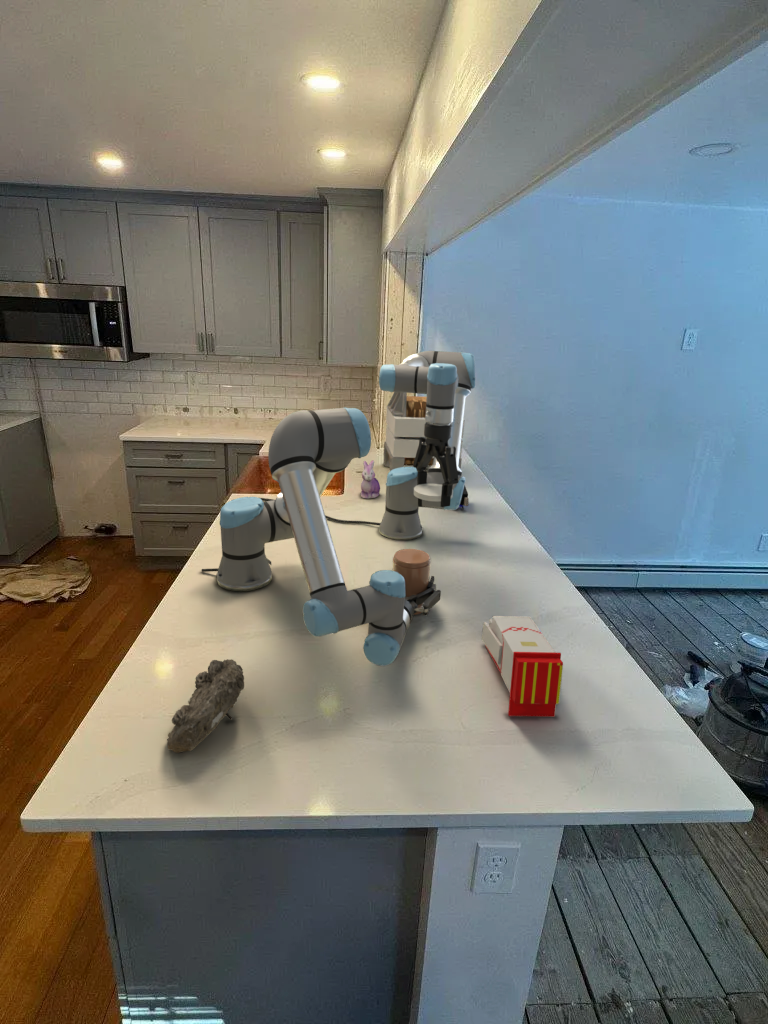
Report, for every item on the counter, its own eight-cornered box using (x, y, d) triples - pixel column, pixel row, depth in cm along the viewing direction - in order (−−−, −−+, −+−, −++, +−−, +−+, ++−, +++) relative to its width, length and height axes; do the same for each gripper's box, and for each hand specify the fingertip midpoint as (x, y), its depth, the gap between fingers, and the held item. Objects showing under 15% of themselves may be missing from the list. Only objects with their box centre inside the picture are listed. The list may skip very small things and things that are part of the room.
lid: (405, 494, 160) (405, 488, 159) (430, 486, 167) (430, 481, 167) (436, 504, 153) (436, 498, 152) (460, 495, 160) (461, 490, 160)
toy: (528, 601, 136) (572, 659, 107) (523, 653, 139) (565, 722, 110) (478, 600, 136) (508, 657, 107) (474, 652, 139) (503, 722, 109)
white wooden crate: (382, 463, 289) (386, 382, 275) (445, 464, 293) (451, 384, 279) (390, 482, 257) (394, 392, 243) (460, 483, 261) (468, 394, 247)
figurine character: (468, 514, 225) (463, 498, 239) (470, 497, 222) (465, 482, 235) (451, 514, 225) (447, 498, 238) (453, 497, 222) (449, 481, 235)
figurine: (365, 500, 232) (366, 464, 227) (354, 493, 241) (355, 458, 236) (385, 497, 237) (387, 463, 231) (374, 490, 245) (375, 457, 240)
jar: (383, 601, 154) (386, 551, 149) (414, 593, 158) (417, 545, 153) (402, 618, 146) (405, 566, 141) (434, 609, 150) (438, 559, 145)
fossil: (192, 660, 117) (244, 628, 112) (224, 691, 120) (276, 661, 115) (142, 746, 98) (202, 712, 93) (182, 779, 101) (242, 748, 96)
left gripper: (348, 624, 137) (372, 583, 157) (441, 639, 132) (453, 596, 153) (349, 596, 134) (373, 559, 155) (443, 611, 130) (455, 571, 150)
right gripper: (403, 415, 160) (399, 489, 168) (454, 433, 142) (447, 515, 149) (425, 414, 164) (420, 486, 172) (477, 430, 145) (469, 510, 153)
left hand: (413, 577), depth 154 cm, fingers closed on jar, 10 cm apart
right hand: (432, 499), depth 161 cm, fingers closed on lid, 11 cm apart
